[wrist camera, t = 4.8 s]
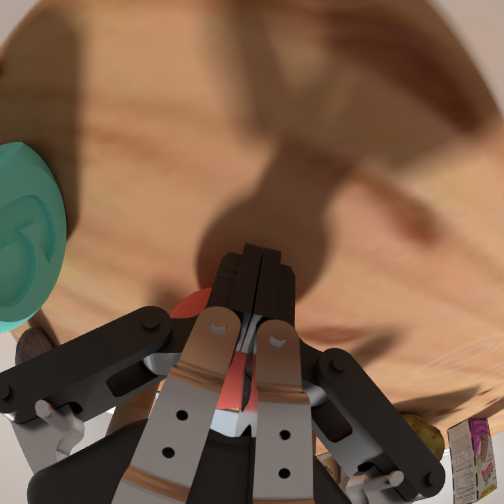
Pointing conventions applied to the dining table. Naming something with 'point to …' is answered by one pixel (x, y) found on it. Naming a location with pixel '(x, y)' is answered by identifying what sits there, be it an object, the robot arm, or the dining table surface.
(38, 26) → the dining table surface
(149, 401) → the post left
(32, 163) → the decorative dice
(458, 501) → the candy bar box
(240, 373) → the ball
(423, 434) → the potato
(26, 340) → the perforated stone tool
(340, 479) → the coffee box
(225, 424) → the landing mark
